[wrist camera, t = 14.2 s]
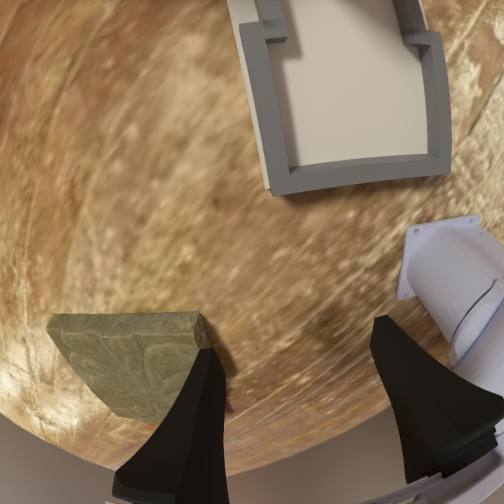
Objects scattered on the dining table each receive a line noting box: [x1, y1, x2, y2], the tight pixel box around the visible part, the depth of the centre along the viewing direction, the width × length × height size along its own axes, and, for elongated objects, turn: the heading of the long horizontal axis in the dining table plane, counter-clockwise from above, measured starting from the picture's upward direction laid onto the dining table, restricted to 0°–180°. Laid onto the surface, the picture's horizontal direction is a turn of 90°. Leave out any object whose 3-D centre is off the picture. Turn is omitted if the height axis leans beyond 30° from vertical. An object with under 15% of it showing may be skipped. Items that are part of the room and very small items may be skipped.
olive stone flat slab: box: [46, 311, 226, 423], centre depth 28 cm, size 19×20×4 cm
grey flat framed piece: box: [226, 0, 452, 197], centre depth 11 cm, size 14×22×2 cm, turn 10°
